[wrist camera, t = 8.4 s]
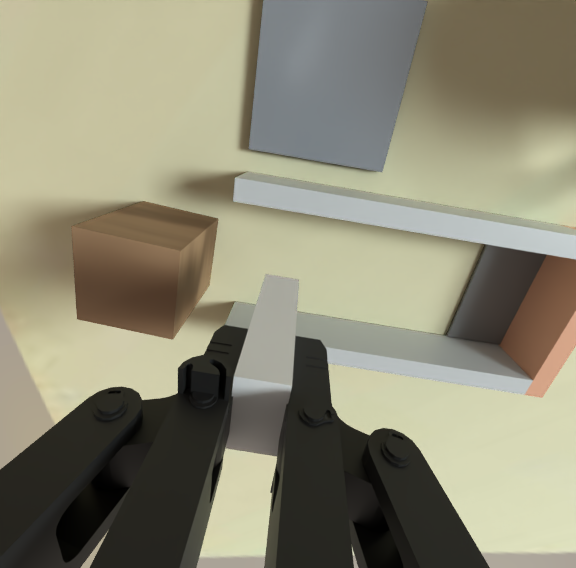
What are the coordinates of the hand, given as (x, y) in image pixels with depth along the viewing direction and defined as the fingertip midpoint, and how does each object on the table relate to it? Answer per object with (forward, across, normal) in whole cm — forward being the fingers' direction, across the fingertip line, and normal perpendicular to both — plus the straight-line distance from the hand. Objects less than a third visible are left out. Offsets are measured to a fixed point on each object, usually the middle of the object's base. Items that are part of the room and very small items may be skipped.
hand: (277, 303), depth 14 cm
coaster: (+8, +1, +10) cm, 13 cm away
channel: (+8, +7, -1) cm, 10 cm away
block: (+8, -8, -1) cm, 11 cm away
